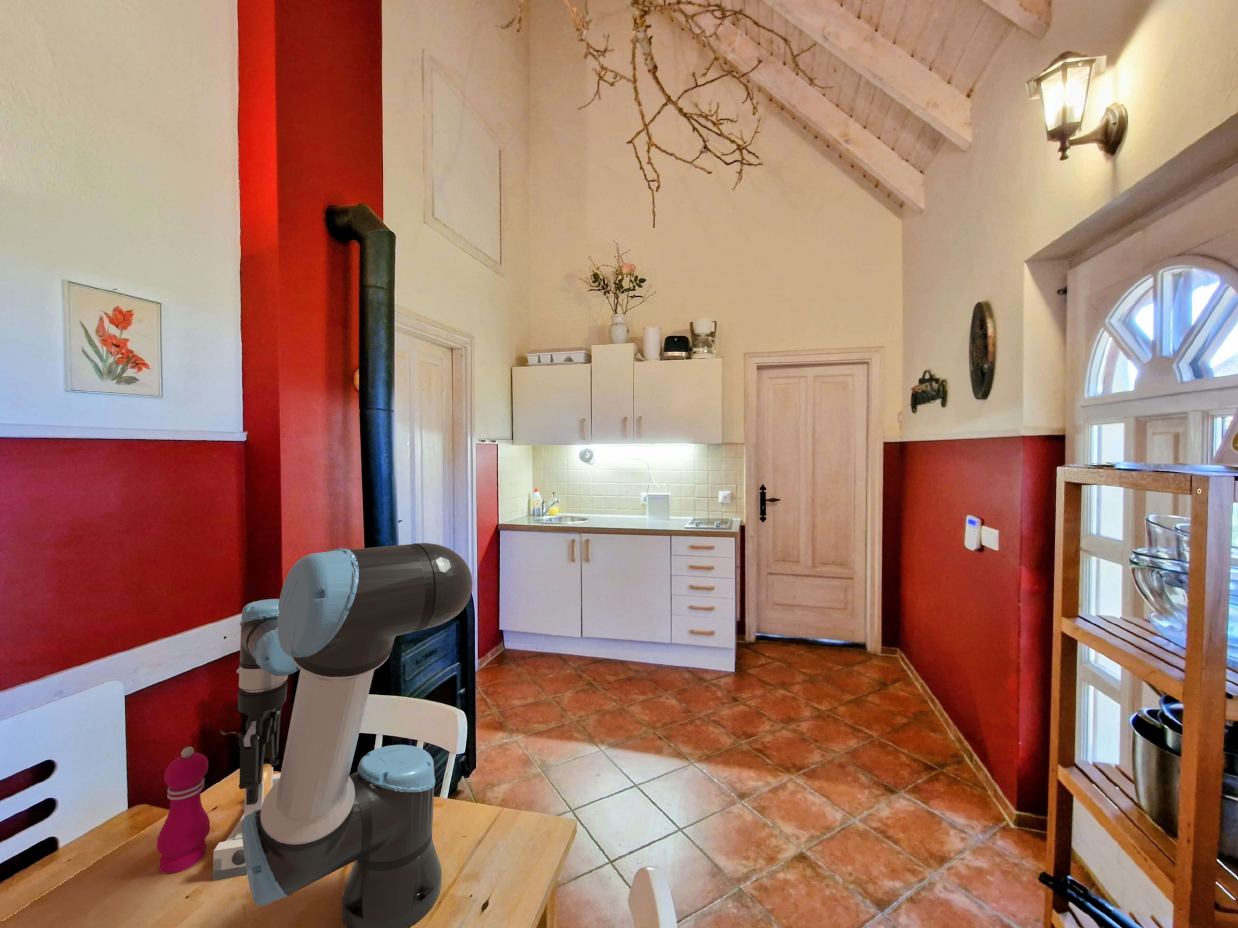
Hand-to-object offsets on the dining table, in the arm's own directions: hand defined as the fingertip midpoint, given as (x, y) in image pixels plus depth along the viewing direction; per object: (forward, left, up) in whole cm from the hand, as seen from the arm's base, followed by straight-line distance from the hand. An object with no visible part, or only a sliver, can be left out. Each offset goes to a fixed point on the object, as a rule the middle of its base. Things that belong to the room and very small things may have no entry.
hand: (258, 810), depth 93 cm
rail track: (+4, 0, -7) cm, 8 cm away
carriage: (0, 0, -5) cm, 5 cm away
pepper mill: (0, +11, -7) cm, 13 cm away
